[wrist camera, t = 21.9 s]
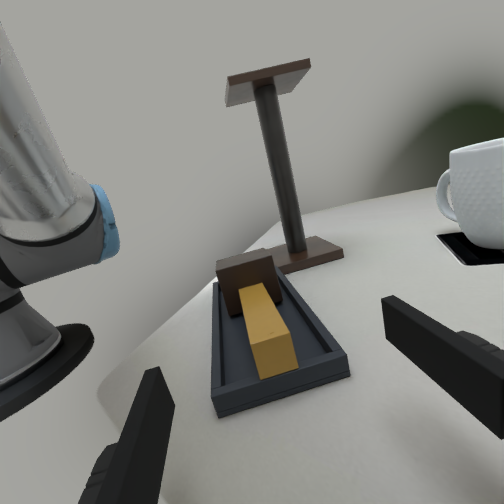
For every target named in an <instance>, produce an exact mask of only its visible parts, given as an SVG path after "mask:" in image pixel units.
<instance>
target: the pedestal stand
mask: <svg viewBox="0 0 504 504" xmlns="http://www.w3.org/2000/svg"><path fill="white" fill-rule="evenodd" d="M310 68H311V64H310V59H309V58H308V59H304V60H299V61H294V62H290V63H286V64H281V65H277V66H272V67H268V68H263V69H260V70H255V71H250V72H246V73H241V74H237V75H233V76H228V77H227V85H226V95H225V103H226V107H230V106H234V105H238V104H242V103H247V102H251V101H255V103H256V107H257V112H258V116H259V121H260V126H261V130H262V135H263V139H264V144H265V149H266V153H267V158H268V162H269V167H270V171H271V176H272V180H273V185H274V190H275V195H276V199H277V204H278V208H279V213H280V218H281V222H282V227H283V231H284V236H285V241H286V244H284V245H281V246H277V247H273V248H270V249H266V250H267V251H268V252H269V253H270V254H271V255H272V257H273V261H274V265H276V266H277V267H278V268H279V269H280V271H281V272H282V273H283V274H288V273H291V272H295V271H298V270H302V269H305V268H309V267H312V266H315V265H319V264H322V263H326V262H329V261H333V260H336V259H340V258H343V257H344V254H343V248H340V247H338V246H336V245H334V244H332V243H330V242H328V241H326V240H324V239H322V238H319V237H317V236H313V237H309V238H306V239H305V234H304V229H303V224H302V219H301V214H300V209H299V204H298V199H297V194H296V189H295V183H294V179H293V173H292V168H291V163H290V158H289V154H288V148H287V142H286V138H285V132H284V127H283V122H282V117H281V112H280V107H279V102H278V96H277V95H281V94H285V93H290V92H292V90H293V89H294V88H295V87H296V85H297V84H298V83H299V82H300V80H301V79H302V78H303V77H304V75H305V74H306V73H307V72H308V70H309V69H310Z"/></svg>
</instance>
